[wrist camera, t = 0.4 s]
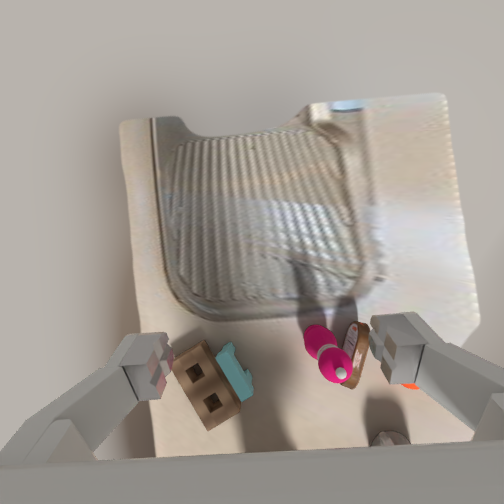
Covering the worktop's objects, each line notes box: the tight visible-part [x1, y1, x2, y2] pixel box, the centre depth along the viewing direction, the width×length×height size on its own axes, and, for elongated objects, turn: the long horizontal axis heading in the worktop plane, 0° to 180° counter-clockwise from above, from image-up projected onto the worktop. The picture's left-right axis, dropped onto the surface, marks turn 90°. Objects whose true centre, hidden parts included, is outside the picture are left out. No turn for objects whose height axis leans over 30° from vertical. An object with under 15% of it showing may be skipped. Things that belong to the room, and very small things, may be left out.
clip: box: [215, 342, 254, 402], centre depth 57 cm, size 11×3×8 cm, turn 32°
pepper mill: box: [304, 325, 353, 383], centre depth 50 cm, size 7×7×20 cm
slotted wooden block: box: [171, 340, 241, 431], centre depth 59 cm, size 18×9×4 cm, turn 32°
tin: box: [340, 321, 370, 389], centre depth 55 cm, size 15×3×8 cm, turn 164°
